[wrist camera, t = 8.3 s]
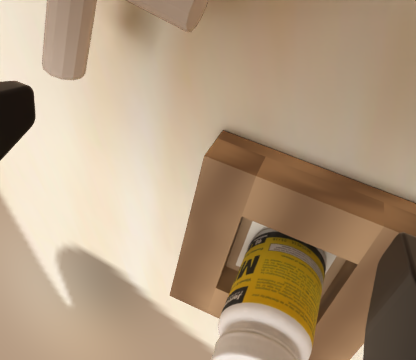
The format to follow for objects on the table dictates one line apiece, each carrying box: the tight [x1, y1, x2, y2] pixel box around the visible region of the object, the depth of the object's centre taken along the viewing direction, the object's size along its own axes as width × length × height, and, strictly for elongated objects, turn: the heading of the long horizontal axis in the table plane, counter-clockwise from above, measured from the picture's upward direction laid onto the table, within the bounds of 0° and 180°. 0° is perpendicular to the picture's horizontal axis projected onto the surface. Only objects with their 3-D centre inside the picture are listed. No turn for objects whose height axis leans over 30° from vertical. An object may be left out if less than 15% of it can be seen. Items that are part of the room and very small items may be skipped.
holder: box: [170, 130, 416, 360], centre depth 24 cm, size 12×12×3 cm
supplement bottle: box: [211, 228, 326, 360], centre depth 21 cm, size 5×5×8 cm
